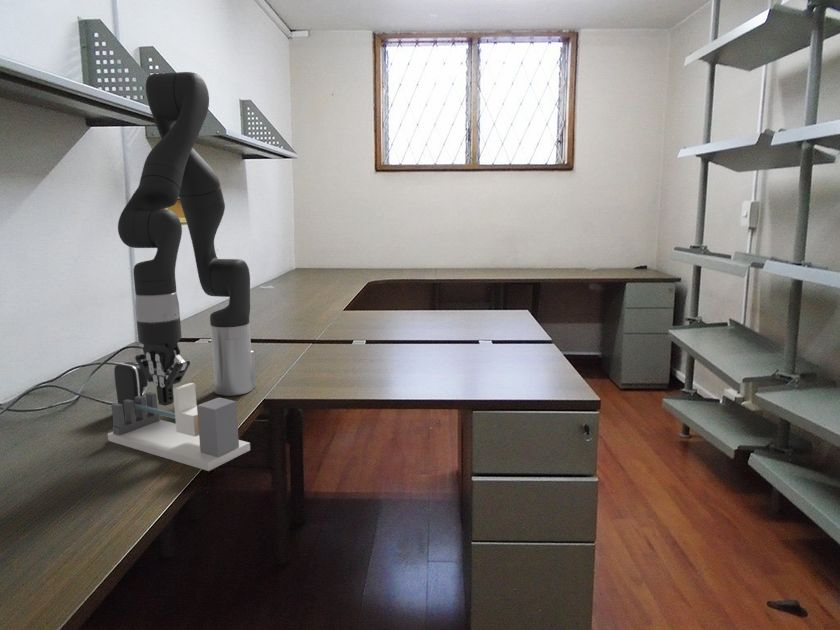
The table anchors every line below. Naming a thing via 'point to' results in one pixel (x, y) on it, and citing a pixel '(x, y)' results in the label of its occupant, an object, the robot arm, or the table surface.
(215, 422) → the cable jig
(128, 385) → the battery charger
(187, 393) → the sleeve
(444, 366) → the table surface
